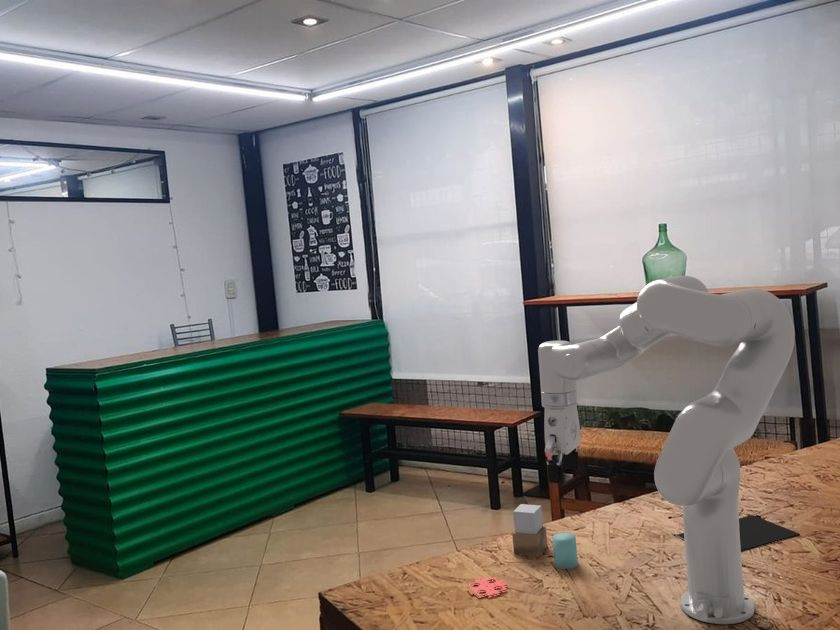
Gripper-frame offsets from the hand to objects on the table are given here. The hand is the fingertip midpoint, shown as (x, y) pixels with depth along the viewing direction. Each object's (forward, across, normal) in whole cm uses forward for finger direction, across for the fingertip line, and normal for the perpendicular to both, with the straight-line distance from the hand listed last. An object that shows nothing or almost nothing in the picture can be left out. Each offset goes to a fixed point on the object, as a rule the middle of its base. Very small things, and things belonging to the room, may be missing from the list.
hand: (564, 475), depth 157 cm
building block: (+20, -18, +12) cm, 29 cm away
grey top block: (+15, +4, +11) cm, 19 cm away
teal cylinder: (+20, -1, 0) cm, 20 cm away
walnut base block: (+20, +4, +11) cm, 23 cm away
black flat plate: (+20, +25, -30) cm, 44 cm away
